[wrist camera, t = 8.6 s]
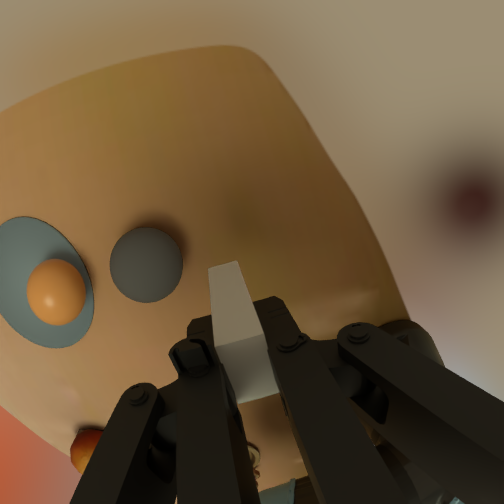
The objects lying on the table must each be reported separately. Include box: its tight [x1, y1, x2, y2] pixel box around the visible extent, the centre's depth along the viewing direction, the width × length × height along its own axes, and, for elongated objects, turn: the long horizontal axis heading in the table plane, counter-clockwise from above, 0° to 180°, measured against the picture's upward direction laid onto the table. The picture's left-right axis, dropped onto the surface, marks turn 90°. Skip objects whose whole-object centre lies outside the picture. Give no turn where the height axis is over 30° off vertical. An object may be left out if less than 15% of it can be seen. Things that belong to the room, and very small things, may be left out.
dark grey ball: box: [110, 227, 183, 303], centre depth 20 cm, size 6×6×6 cm
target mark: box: [0, 217, 94, 348], centre depth 21 cm, size 14×14×1 cm
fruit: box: [70, 429, 103, 475], centre depth 26 cm, size 8×8×8 cm
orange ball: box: [27, 259, 86, 326], centre depth 19 cm, size 6×6×6 cm
